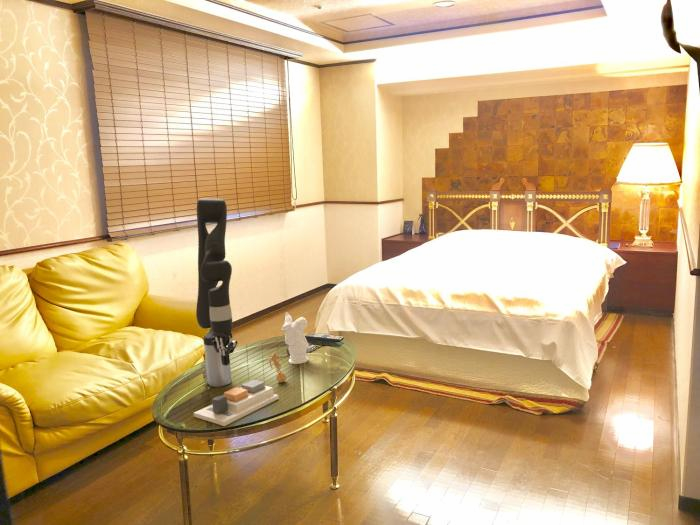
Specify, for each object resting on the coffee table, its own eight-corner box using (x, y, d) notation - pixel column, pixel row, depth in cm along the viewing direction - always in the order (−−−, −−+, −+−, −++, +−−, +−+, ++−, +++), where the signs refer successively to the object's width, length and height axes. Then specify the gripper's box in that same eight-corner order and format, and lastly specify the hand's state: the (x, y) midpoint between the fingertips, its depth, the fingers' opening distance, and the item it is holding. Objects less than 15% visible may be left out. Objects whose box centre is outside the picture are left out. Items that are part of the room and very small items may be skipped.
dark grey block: (213, 412, 200) (211, 398, 199) (222, 408, 203) (220, 394, 202) (219, 414, 198) (217, 400, 197) (227, 410, 201) (226, 396, 200)
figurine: (280, 386, 225) (277, 357, 223) (267, 385, 228) (264, 356, 226) (291, 379, 232) (288, 350, 230) (279, 377, 235) (276, 349, 233)
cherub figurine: (314, 361, 253) (310, 312, 250) (292, 369, 245) (288, 319, 241) (296, 355, 262) (292, 309, 258) (274, 363, 253) (270, 315, 249)
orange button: (224, 401, 206) (223, 392, 206) (237, 395, 211) (236, 387, 210) (235, 404, 203) (234, 395, 202) (248, 398, 207) (247, 389, 207)
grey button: (242, 392, 213) (241, 384, 212) (254, 387, 217) (253, 379, 217) (253, 395, 209) (252, 387, 209) (265, 390, 214) (264, 382, 213)
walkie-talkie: (298, 357, 260) (326, 345, 276) (297, 348, 259) (325, 336, 275) (284, 355, 265) (312, 343, 281) (283, 346, 264) (311, 334, 280)
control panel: (194, 416, 202) (192, 405, 201) (248, 391, 222) (247, 381, 222) (224, 426, 192) (222, 414, 192) (278, 398, 212) (277, 388, 212)
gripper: (241, 317, 199) (246, 364, 202) (217, 312, 208) (222, 358, 210) (224, 322, 194) (229, 371, 196) (200, 317, 202) (205, 364, 205)
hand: (225, 364), depth 203 cm, fingers closed
